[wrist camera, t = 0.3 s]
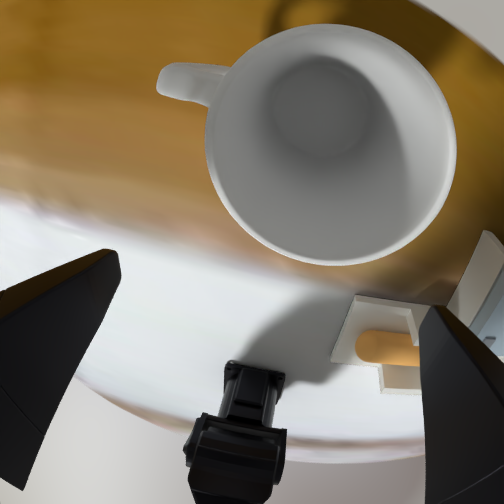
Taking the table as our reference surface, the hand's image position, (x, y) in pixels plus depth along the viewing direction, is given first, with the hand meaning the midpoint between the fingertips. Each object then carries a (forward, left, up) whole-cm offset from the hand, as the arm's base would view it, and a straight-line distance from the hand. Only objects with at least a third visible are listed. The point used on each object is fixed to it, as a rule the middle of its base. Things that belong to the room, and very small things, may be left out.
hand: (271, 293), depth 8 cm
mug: (+4, 0, -14) cm, 14 cm away
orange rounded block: (-14, -12, -13) cm, 22 cm away
